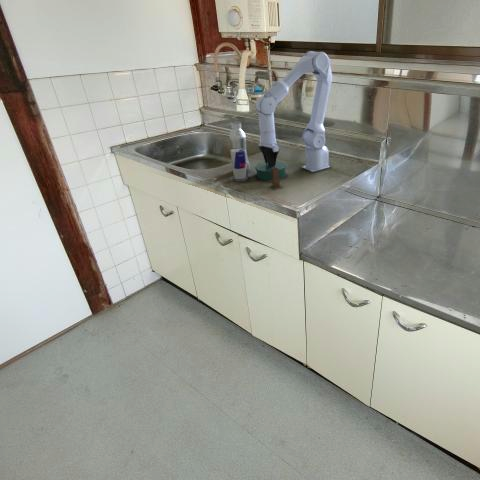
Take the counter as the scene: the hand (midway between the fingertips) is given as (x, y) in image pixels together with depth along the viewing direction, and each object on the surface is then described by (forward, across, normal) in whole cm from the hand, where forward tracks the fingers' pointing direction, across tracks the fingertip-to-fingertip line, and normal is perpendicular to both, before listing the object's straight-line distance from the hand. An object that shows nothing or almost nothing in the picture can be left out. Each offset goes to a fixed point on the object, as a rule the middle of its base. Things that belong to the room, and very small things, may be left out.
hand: (270, 165), depth 143 cm
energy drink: (+5, -3, -12) cm, 13 cm away
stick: (+5, +12, -3) cm, 13 cm away
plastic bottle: (+5, -12, -8) cm, 15 cm away
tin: (+5, 0, 0) cm, 5 cm away
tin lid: (+1, 0, 0) cm, 1 cm away
